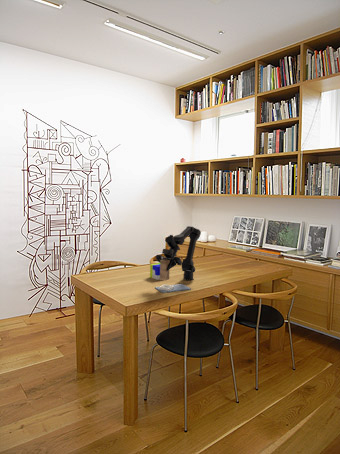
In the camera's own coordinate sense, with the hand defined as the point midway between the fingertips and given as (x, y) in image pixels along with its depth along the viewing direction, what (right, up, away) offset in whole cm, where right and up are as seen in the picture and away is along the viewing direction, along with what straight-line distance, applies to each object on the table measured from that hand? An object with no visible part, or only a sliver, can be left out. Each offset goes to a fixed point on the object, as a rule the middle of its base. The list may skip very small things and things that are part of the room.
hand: (163, 270), depth 223 cm
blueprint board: (+6, -13, +4) cm, 15 cm away
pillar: (+1, -6, +2) cm, 7 cm away
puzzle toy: (-4, -10, +35) cm, 36 cm away
